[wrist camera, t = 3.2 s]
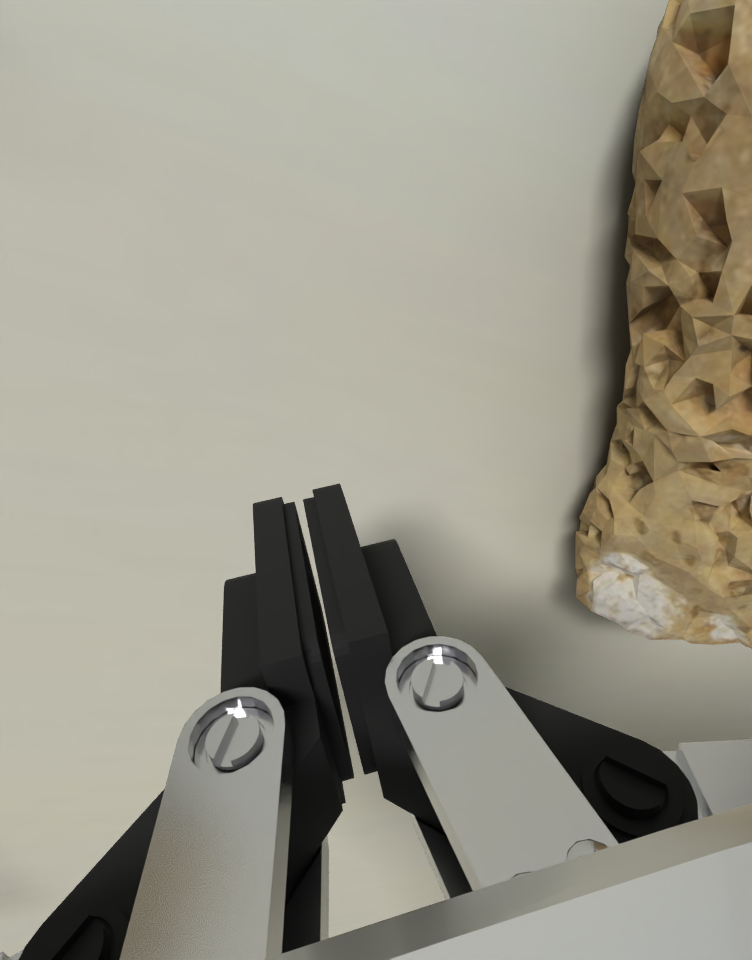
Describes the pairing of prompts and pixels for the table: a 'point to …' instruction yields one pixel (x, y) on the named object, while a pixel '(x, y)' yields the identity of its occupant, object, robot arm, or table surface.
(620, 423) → the sponge
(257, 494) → the table surface
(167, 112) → the table surface
